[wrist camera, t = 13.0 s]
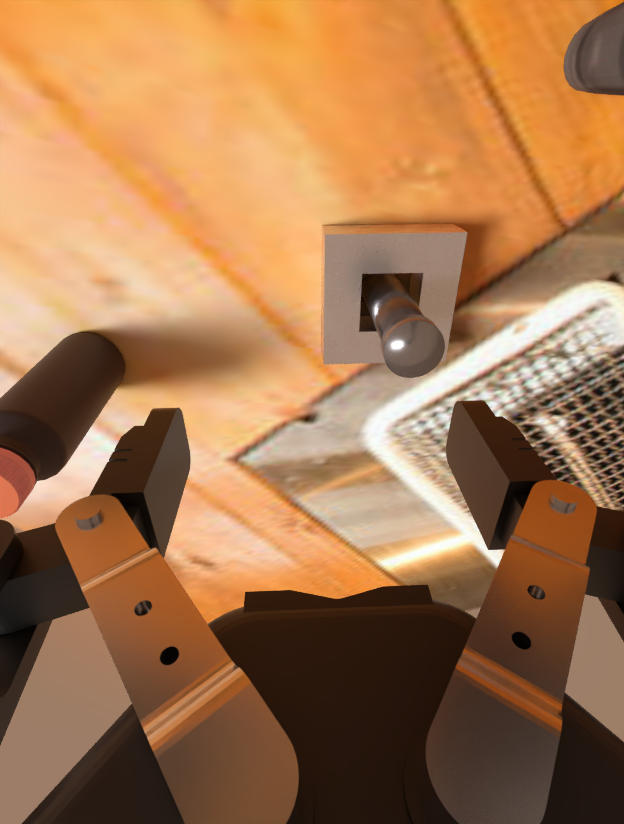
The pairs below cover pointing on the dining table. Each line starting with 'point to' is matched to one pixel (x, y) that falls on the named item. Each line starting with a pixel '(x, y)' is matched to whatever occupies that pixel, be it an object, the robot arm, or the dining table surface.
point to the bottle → (53, 412)
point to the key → (402, 327)
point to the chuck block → (375, 254)
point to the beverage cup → (598, 55)
